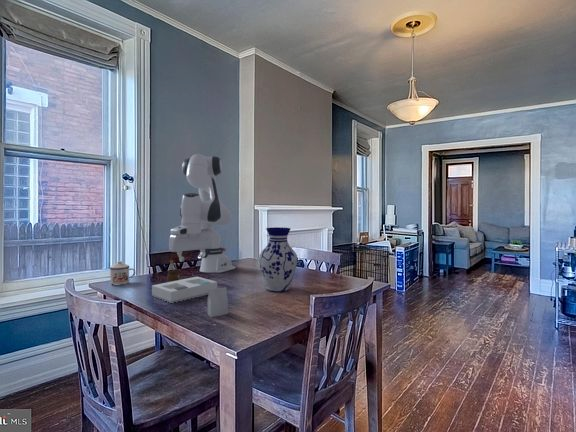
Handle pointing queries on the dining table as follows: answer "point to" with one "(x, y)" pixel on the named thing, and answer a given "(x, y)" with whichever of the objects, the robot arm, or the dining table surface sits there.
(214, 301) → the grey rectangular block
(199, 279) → the socket box
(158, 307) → the dining table surface
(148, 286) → the dining table surface
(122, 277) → the teacup with lid
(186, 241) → the robot arm
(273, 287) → the vase
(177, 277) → the utensil holder
